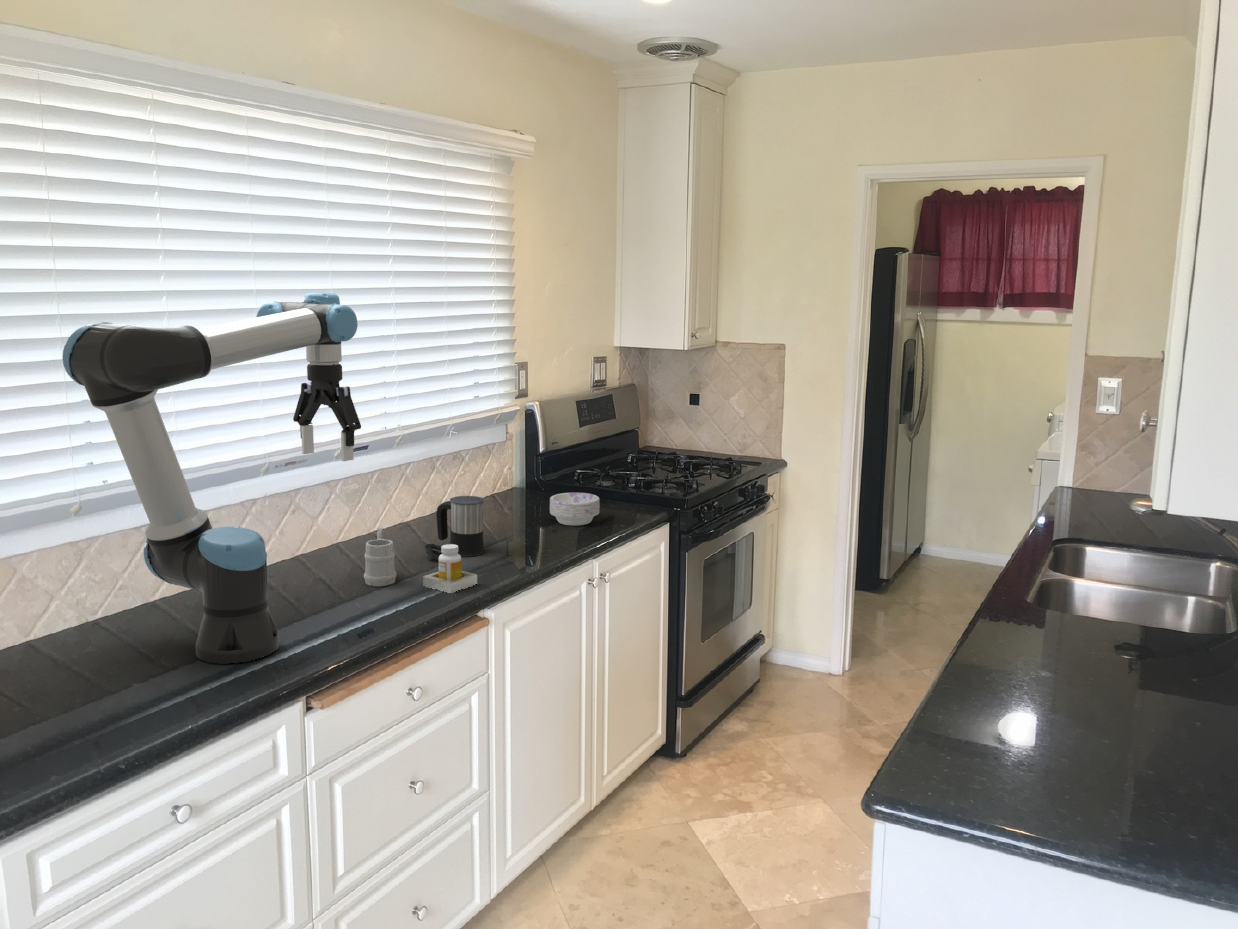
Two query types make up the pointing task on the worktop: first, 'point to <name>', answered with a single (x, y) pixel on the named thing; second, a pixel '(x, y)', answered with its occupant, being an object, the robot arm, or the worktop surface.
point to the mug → (379, 561)
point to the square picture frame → (450, 582)
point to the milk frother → (460, 526)
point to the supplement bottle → (449, 563)
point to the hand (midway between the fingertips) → (327, 457)
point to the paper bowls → (574, 508)
